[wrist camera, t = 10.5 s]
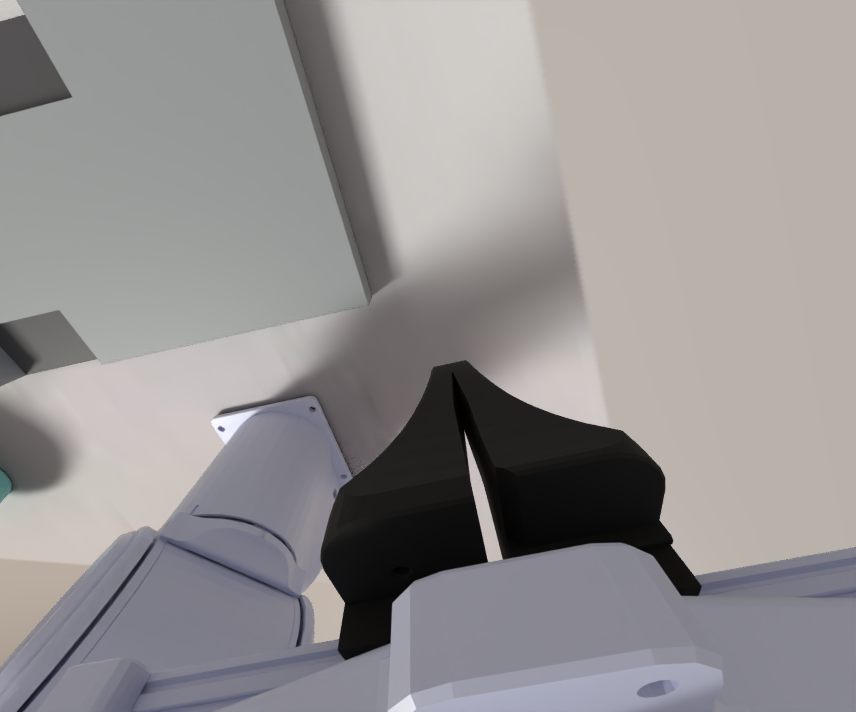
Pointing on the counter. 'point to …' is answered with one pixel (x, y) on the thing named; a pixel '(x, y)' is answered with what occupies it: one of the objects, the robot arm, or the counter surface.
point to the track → (161, 181)
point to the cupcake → (4, 485)
